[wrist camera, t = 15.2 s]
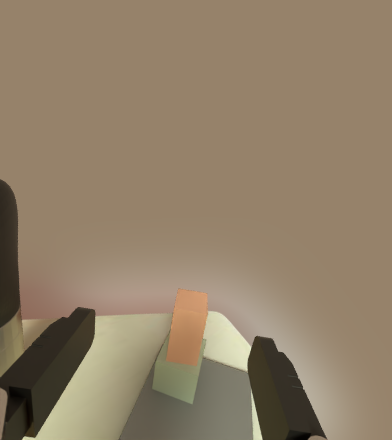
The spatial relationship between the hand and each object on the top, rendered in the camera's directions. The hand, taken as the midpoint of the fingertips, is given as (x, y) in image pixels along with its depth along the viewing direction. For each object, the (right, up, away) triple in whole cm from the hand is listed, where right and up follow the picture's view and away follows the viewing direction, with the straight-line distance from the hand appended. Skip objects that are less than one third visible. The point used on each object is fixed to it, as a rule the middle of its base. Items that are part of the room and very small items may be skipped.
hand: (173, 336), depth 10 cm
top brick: (-1, -17, +24) cm, 29 cm away
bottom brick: (-2, -22, +26) cm, 34 cm away
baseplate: (+1, -25, +21) cm, 33 cm away
